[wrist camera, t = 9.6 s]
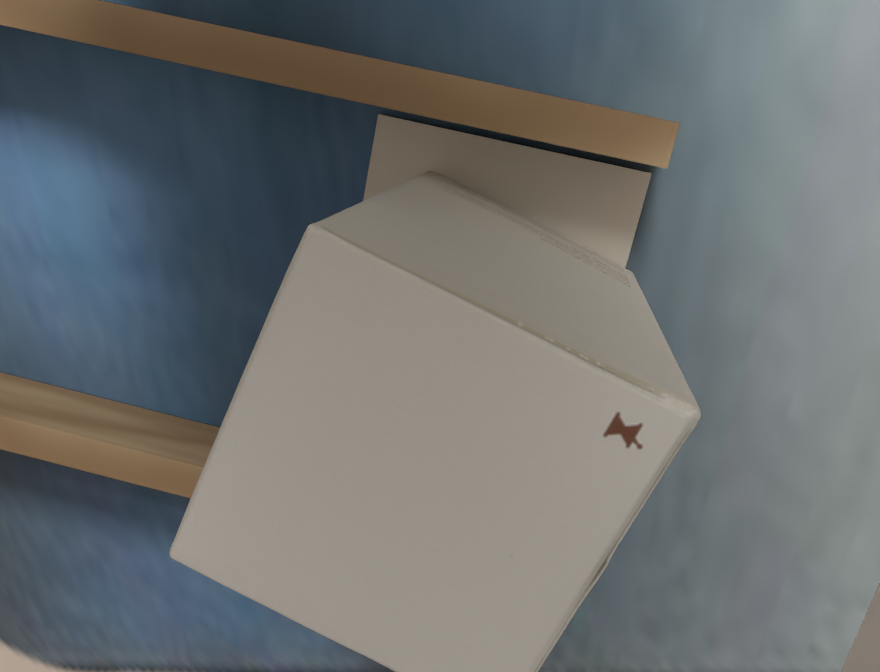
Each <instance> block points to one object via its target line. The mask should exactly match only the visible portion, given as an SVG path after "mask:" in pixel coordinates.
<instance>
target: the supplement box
mask: <svg viewBox="0 0 880 672" xmlns="http://www.w3.org/2000/svg"><path fill="white" fill-rule="evenodd" d="M700 416H701V411H700V409H699V407H698V404H697V402H696V400H695V398H694V396H693V394H692V392H691V390H690V388H689V386H688V384H687V382H686V381H685V378H684V376H683V374H682V372H681V369H680V367H679V365H678V364H677V362H676V360H675V358H674V356H673V354H672V352H671V350H670V348H669V346H668V344H667V342H666V340H665V337H664V335H663V333H662V331H661V329H660V327H659V325H658V323H657V321H656V319H655V317H654V315H653V313H652V311H651V309H650V307H649V305H648V303H647V301H646V298H645V296H644V295H643V292H642V290H641V288H640V286H639V284H638V282H637V280H636V278H635V276H634V274H633V272H631V271H629V270H627V269H625V268H623V267H621V266H619V265H617V264H615V263H613V262H611V261H609V260H607V259H605V258H604V257H602V256H600V255H598V254H596V253H594V252H592V251H590V250H588V249H586V248H584V247H582V246H580V245H578V244H576V243H574V242H573V241H571V240H569V239H567V238H565V237H563V236H561V235H559V234H557V233H555V232H553V231H551V230H549V229H547V228H546V227H544V226H542V225H540V224H538V223H536V222H534V221H532V220H530V219H528V218H526V217H524V216H522V215H520V214H518V213H516V212H514V211H512V210H510V209H508V208H506V207H504V206H502V205H500V204H498V203H497V202H495V201H493V200H491V199H489V198H487V197H485V196H483V195H481V194H479V193H477V192H475V191H473V190H471V189H469V188H467V187H465V186H463V185H461V184H459V183H457V182H455V181H453V180H451V179H449V178H447V177H445V176H443V175H441V174H439V173H437V172H435V171H427V172H425V173H423V174H421V175H419V176H416V177H414V178H412V179H410V180H408V181H406V182H403V183H401V184H399V185H397V186H395V187H392V188H390V189H388V190H386V191H384V192H382V193H380V194H377V195H375V196H373V197H371V198H369V199H367V200H364V201H362V202H360V203H358V204H356V205H354V206H352V207H349V208H347V209H345V210H343V211H341V212H339V213H336V214H334V215H332V216H330V217H328V218H326V219H323V220H320V221H318V222H316V223H312V224H310V225H309V226H308V227H307V229H306V231H305V233H304V235H303V237H302V239H301V241H300V243H299V246H298V248H297V250H296V252H295V254H294V257H293V259H292V261H291V263H290V265H289V267H288V270H287V272H286V274H285V276H284V279H283V281H282V283H281V286H280V288H279V290H278V293H277V295H276V297H275V299H274V302H273V304H272V306H271V309H270V311H269V314H268V316H267V318H266V321H265V323H264V326H263V328H262V330H261V333H260V335H259V337H258V340H257V342H256V344H255V347H254V349H253V351H252V354H251V356H250V358H249V361H248V363H247V365H246V368H245V370H244V372H243V375H242V377H241V379H240V382H239V384H238V387H237V389H236V391H235V394H234V396H233V398H232V401H231V403H230V406H229V408H228V410H227V413H226V415H225V418H224V420H223V422H222V425H221V427H220V429H219V432H218V434H217V437H216V439H215V441H214V444H213V446H212V449H211V451H210V453H209V456H208V458H207V461H206V463H205V465H204V468H203V470H202V472H201V475H200V477H199V480H198V482H197V484H196V487H195V489H194V492H193V494H192V496H191V499H190V501H189V504H188V506H187V509H186V511H185V514H184V516H183V519H182V522H181V524H180V527H179V529H178V532H177V534H176V537H175V539H174V542H173V544H172V546H171V549H170V553H169V555H170V557H171V559H173V560H175V561H177V562H179V563H181V564H183V565H185V566H187V567H189V568H191V569H193V570H195V571H197V572H199V573H201V574H203V575H205V576H207V577H209V578H211V579H212V580H214V581H216V582H218V583H220V584H222V585H224V586H226V587H228V588H230V589H232V590H234V591H236V592H238V593H240V594H242V595H244V596H246V597H248V598H250V599H252V600H254V601H256V602H258V603H260V604H262V605H264V606H266V607H268V608H270V609H272V610H274V611H276V612H278V613H280V614H282V615H284V616H285V617H287V618H289V619H291V620H293V621H295V622H297V623H299V624H301V625H303V626H305V627H307V628H309V629H311V630H313V631H315V632H317V633H319V634H321V635H323V636H325V637H327V638H329V639H331V640H333V641H335V642H337V643H339V644H341V645H343V646H345V647H347V648H349V649H351V650H353V651H355V652H358V653H360V654H362V655H364V656H366V657H368V658H370V659H372V660H374V661H376V662H378V663H379V664H381V665H383V666H385V667H387V668H389V669H391V670H392V671H394V672H538V671H539V669H540V668H541V666H542V664H543V663H544V661H545V660H546V658H547V657H548V655H549V653H550V652H551V650H552V649H553V647H554V646H555V644H556V643H557V641H558V639H559V638H560V636H561V635H562V633H563V631H564V630H565V628H566V627H567V625H568V623H569V622H570V620H571V619H572V617H573V615H574V614H575V612H576V611H577V609H578V608H579V606H580V605H581V603H582V602H583V600H584V599H585V597H586V596H587V594H588V593H589V592H590V590H591V589H592V587H593V586H594V584H595V583H596V582H597V580H598V579H599V577H600V576H601V574H602V573H603V571H604V570H605V568H606V567H607V565H608V563H609V561H610V559H611V557H612V555H613V553H614V551H615V550H616V548H617V546H618V545H619V543H620V542H621V540H622V539H623V537H624V536H625V534H626V532H627V531H628V529H629V528H630V526H631V524H632V523H633V521H634V520H635V518H636V516H637V515H638V513H639V512H640V510H641V509H642V507H643V505H644V504H645V502H646V501H647V499H648V498H649V496H650V494H651V493H652V491H653V490H654V488H655V487H656V485H657V484H658V482H659V480H660V479H661V477H662V476H663V474H664V473H665V471H666V469H667V468H668V466H669V465H670V463H671V461H672V460H673V458H674V457H675V455H676V454H677V452H678V451H679V449H680V447H681V446H682V444H683V443H684V442H685V440H686V439H687V437H688V436H689V435H690V433H691V432H692V431H693V429H694V428H695V426H696V424H697V423H698V421H699V419H700Z"/></svg>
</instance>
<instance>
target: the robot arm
mask: <svg viewBox="0 0 880 672" xmlns="http://www.w3.org/2000/svg"><path fill="white" fill-rule="evenodd" d="M841 672H880V583H879V585H878V587H877V590H876V592H875V594H874V597H873V599H872V601H871V604H870V606H869V608H868V611H867V613H866V615H865V618H864V620H863V622H862V624H861V627H860V629H859V631H858V634H857V636H856V638H855V641H854V643H853V645H852V648H851V650H850V652H849V655H848V657H847V659H846V661H845V664H844V666H843V668H842V671H841Z"/></svg>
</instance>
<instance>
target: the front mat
mask: <svg viewBox="0 0 880 672" xmlns="http://www.w3.org/2000/svg"><path fill="white" fill-rule="evenodd" d="M427 171H435V172H437V173H439V174H441V175H443V176H445V177H447V178H449V179H451V180H453V181H455V182H457V183H459V184H461V185H463V186H465V187H467V188H469V189H471V190H473V191H475V192H477V193H479V194H481V195H483V196H485V197H487V198H489V199H491V200H493V201H495V202H497V203H498V204H500V205H502V206H504V207H506V208H508V209H510V210H512V211H514V212H516V213H518V214H520V215H522V216H524V217H526V218H528V219H530V220H532V221H534V222H536V223H538V224H540V225H542V226H544V227H546V228H547V229H549V230H551V231H553V232H555V233H557V234H559V235H561V236H563V237H565V238H567V239H569V240H571V241H573V242H574V243H576V244H578V245H580V246H582V247H584V248H586V249H588V250H590V251H592V252H594V253H596V254H598V255H600V256H602V257H604V258H605V259H607V260H609V261H611V262H613V263H615V264H617V265H619V266H621V267H623V268H626V264H627V261H628V257H629V254H630V250H631V246H632V243H633V239H634V235H635V232H636V228H637V225H638V221H639V217H640V214H641V210H642V207H643V203H644V199H645V196H646V192H647V188H648V185H649V181H650V178H651V174H652V173H648V172H644V171H639V170H634V169H630V168H625V167H621V166H616V165H611V164H607V163H602V162H598V161H593V160H588V159H584V158H579V157H574V156H570V155H565V154H561V153H556V152H551V151H547V150H542V149H538V148H533V147H528V146H524V145H519V144H515V143H510V142H505V141H501V140H496V139H491V138H487V137H482V136H478V135H473V134H468V133H464V132H459V131H455V130H450V129H445V128H441V127H436V126H432V125H427V124H422V123H418V122H413V121H408V120H404V119H399V118H395V117H390V116H385V115H381V114H378V118H377V124H376V130H375V135H374V141H373V147H372V152H371V158H370V164H369V169H368V175H367V181H366V186H365V192H364V198H363V201H364V200H367V199H369V198H371V197H373V196H375V195H377V194H380V193H382V192H384V191H386V190H388V189H390V188H392V187H395V186H397V185H399V184H401V183H403V182H406V181H408V180H410V179H412V178H414V177H416V176H419V175H421V174H423V173H425V172H427Z"/></svg>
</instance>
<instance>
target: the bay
mask: <svg viewBox="0 0 880 672" xmlns="http://www.w3.org/2000/svg"><path fill="white" fill-rule="evenodd" d="M0 25H4V26H8V27H13V28H18V29H22V30H27V31H32V32H36V33H41V34H45V35H50V36H55V37H59V38H64V39H69V40H73V41H78V42H83V43H87V44H92V45H96V46H101V47H106V48H110V49H115V50H120V51H124V52H129V53H133V54H138V55H143V56H147V57H152V58H157V59H161V60H166V61H170V62H175V63H180V64H184V65H189V66H194V67H198V68H203V69H207V70H212V71H217V72H221V73H226V74H231V75H235V76H240V77H244V78H249V79H254V80H258V81H263V82H268V83H272V84H277V85H281V86H286V87H291V88H295V89H300V90H305V91H309V92H314V93H319V94H323V95H328V96H332V97H337V98H342V99H346V100H351V101H356V102H360V103H365V104H369V105H374V106H379V107H383V108H388V109H393V110H397V111H402V112H406V113H411V114H416V115H420V116H425V117H430V118H434V119H439V120H443V121H448V122H453V123H457V124H462V125H467V126H471V127H476V128H480V129H485V130H490V131H494V132H499V133H504V134H508V135H513V136H517V137H522V138H527V139H531V140H536V141H541V142H545V143H550V144H555V145H559V146H564V147H568V148H573V149H578V150H582V151H587V152H592V153H596V154H601V155H605V156H610V157H615V158H619V159H624V160H629V161H633V162H638V163H642V164H647V165H652V166H656V167H661V168H666V169H667V168H668V165H669V161H670V158H671V154H672V150H673V147H674V143H675V140H676V136H677V133H678V129H679V126H680V123H678V122H673V121H668V120H664V119H659V118H654V117H649V116H645V115H640V114H635V113H631V112H626V111H621V110H616V109H612V108H607V107H602V106H597V105H593V104H588V103H583V102H579V101H574V100H569V99H564V98H560V97H555V96H550V95H545V94H541V93H536V92H531V91H527V90H522V89H517V88H512V87H508V86H503V85H498V84H493V83H489V82H484V81H479V80H474V79H470V78H465V77H460V76H456V75H451V74H446V73H441V72H437V71H432V70H427V69H422V68H418V67H413V66H408V65H404V64H399V63H394V62H389V61H385V60H380V59H375V58H370V57H366V56H361V55H356V54H352V53H347V52H342V51H337V50H333V49H328V48H323V47H318V46H314V45H309V44H304V43H300V42H295V41H290V40H285V39H281V38H276V37H271V36H266V35H262V34H257V33H252V32H248V31H243V30H238V29H233V28H229V27H224V26H219V25H214V24H210V23H205V22H200V21H196V20H191V19H186V18H181V17H177V16H172V15H167V14H162V13H158V12H153V11H148V10H144V9H139V8H134V7H129V6H125V5H120V4H115V3H110V2H106V1H101V0H0ZM219 429H220V427H216V426H212V425H208V424H204V423H200V422H196V421H192V420H188V419H184V418H180V417H176V416H172V415H168V414H164V413H160V412H156V411H152V410H148V409H144V408H140V407H136V406H132V405H128V404H124V403H120V402H116V401H112V400H108V399H105V398H101V397H97V396H93V395H89V394H85V393H81V392H77V391H73V390H69V389H65V388H61V387H57V386H53V385H49V384H45V383H41V382H37V381H33V380H29V379H25V378H21V377H17V376H13V375H9V374H5V373H1V372H0V449H2V450H5V451H9V452H13V453H17V454H21V455H25V456H29V457H32V458H36V459H40V460H44V461H48V462H52V463H56V464H60V465H63V466H67V467H71V468H75V469H79V470H83V471H87V472H90V473H94V474H98V475H102V476H106V477H110V478H114V479H117V480H121V481H125V482H129V483H133V484H137V485H141V486H144V487H148V488H152V489H156V490H160V491H164V492H168V493H171V494H175V495H179V496H183V497H187V498H191V496H192V494H193V492H194V489H195V487H196V484H197V482H198V480H199V477H200V475H201V472H202V470H203V468H204V465H205V463H206V461H207V458H208V456H209V453H210V451H211V449H212V446H213V444H214V441H215V439H216V437H217V434H218V432H219Z"/></svg>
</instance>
